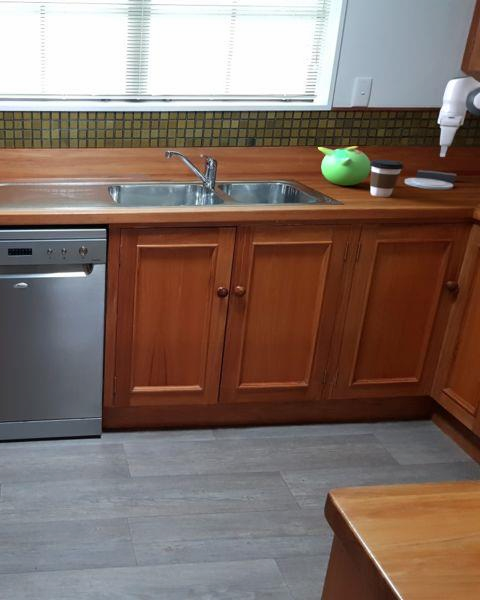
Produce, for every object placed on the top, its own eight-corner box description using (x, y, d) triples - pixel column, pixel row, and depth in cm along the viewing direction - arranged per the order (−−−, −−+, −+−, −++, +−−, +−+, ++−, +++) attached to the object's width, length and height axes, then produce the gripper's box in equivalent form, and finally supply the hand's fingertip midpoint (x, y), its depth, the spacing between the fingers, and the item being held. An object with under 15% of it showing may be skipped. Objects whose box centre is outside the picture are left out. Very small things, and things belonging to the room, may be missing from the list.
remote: (415, 178, 251) (417, 170, 250) (416, 176, 254) (418, 169, 253) (454, 182, 245) (456, 174, 244) (454, 180, 248) (456, 173, 247)
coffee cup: (397, 194, 222) (405, 161, 218) (395, 200, 213) (403, 166, 209) (365, 190, 227) (372, 158, 222) (362, 196, 218) (369, 162, 213)
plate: (453, 183, 242) (454, 180, 242) (452, 191, 229) (453, 188, 228) (406, 178, 250) (406, 175, 249) (402, 185, 236) (403, 182, 236)
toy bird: (375, 188, 231) (384, 148, 225) (343, 191, 224) (351, 151, 218) (338, 178, 246) (345, 141, 240) (307, 181, 239) (314, 143, 233)
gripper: (442, 117, 250) (434, 151, 255) (441, 121, 233) (432, 157, 238) (460, 118, 247) (451, 152, 252) (460, 122, 230) (451, 159, 235)
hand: (442, 155), depth 245 cm, fingers open, 8 cm apart
